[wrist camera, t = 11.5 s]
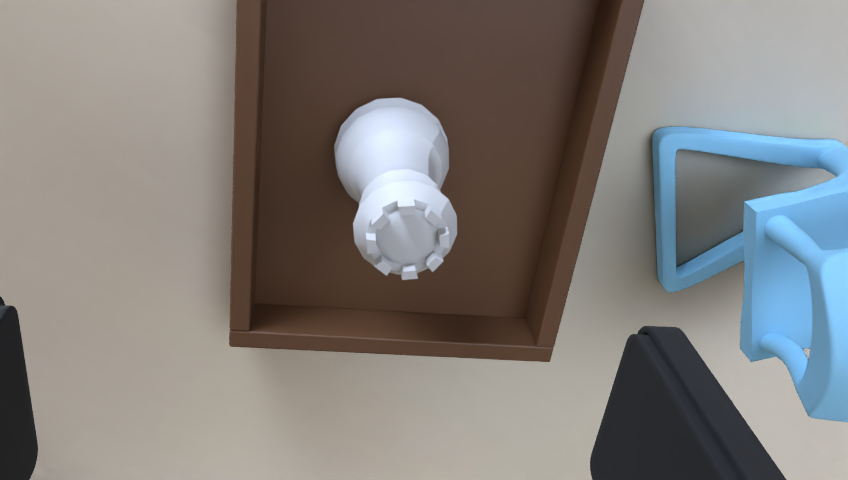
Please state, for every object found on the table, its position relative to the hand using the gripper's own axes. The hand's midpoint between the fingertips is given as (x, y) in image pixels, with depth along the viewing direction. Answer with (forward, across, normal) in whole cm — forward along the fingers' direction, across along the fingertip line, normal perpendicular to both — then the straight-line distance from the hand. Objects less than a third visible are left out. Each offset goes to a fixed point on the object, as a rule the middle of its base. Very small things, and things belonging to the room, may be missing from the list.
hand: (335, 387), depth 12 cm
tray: (+19, -3, +3) cm, 20 cm away
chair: (+19, -18, +4) cm, 27 cm away
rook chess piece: (+18, -2, +3) cm, 19 cm away
